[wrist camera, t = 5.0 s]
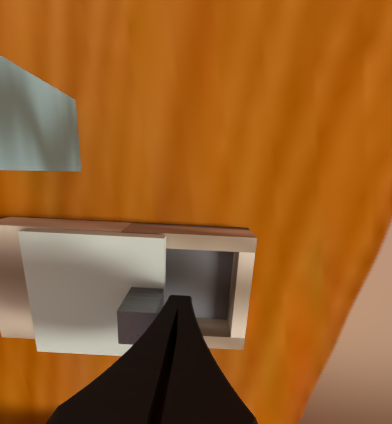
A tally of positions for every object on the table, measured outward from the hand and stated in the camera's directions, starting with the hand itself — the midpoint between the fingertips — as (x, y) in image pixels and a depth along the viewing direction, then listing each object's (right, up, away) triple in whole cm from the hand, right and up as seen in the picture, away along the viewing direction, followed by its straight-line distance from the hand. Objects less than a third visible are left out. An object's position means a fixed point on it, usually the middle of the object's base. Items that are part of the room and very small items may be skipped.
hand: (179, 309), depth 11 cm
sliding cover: (-5, 0, +1) cm, 5 cm away
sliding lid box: (-4, +1, +3) cm, 5 cm away
